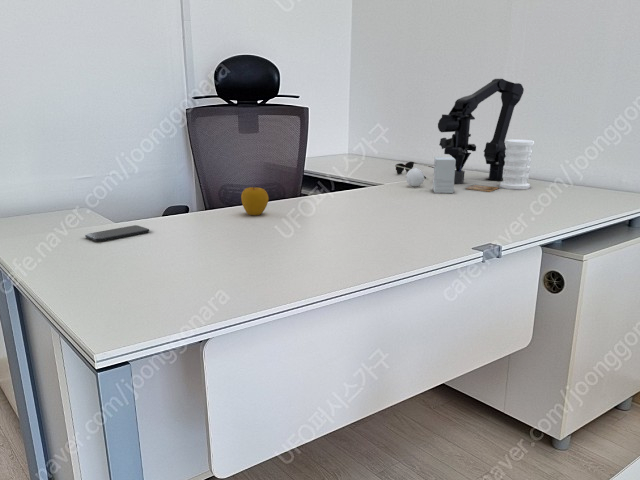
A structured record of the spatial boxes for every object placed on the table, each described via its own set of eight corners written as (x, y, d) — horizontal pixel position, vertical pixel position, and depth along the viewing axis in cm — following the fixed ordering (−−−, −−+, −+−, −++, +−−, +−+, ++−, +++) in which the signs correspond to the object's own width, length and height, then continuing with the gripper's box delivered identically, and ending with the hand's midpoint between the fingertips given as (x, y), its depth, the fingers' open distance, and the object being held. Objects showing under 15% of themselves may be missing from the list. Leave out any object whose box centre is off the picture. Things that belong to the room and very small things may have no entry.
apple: (271, 212, 193) (270, 184, 190) (264, 217, 185) (264, 189, 182) (246, 211, 194) (245, 184, 191) (238, 216, 187) (237, 188, 183)
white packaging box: (451, 189, 232) (454, 157, 227) (453, 193, 225) (456, 159, 220) (432, 189, 232) (434, 156, 228) (433, 193, 225) (436, 159, 221)
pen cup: (454, 181, 250) (455, 169, 248) (465, 182, 248) (466, 170, 246) (449, 183, 247) (450, 171, 245) (460, 184, 244) (461, 172, 242)
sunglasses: (412, 171, 275) (413, 161, 273) (441, 177, 265) (442, 166, 263) (394, 175, 266) (395, 163, 264) (423, 181, 256) (425, 169, 254)
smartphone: (136, 227, 173) (83, 237, 162) (136, 224, 172) (83, 234, 162) (151, 232, 167) (97, 242, 157) (150, 229, 167) (97, 239, 156)
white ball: (427, 187, 238) (428, 168, 235) (413, 188, 234) (414, 169, 231) (411, 183, 246) (412, 165, 243) (397, 185, 242) (398, 166, 239)
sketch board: (475, 185, 241) (475, 184, 241) (499, 188, 235) (499, 187, 235) (465, 189, 233) (465, 188, 233) (489, 191, 228) (489, 190, 228)
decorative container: (518, 183, 245) (524, 139, 239) (535, 188, 235) (541, 141, 228) (494, 185, 242) (498, 139, 236) (509, 189, 232) (515, 142, 225)
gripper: (453, 128, 251) (450, 166, 257) (433, 132, 237) (431, 171, 243) (478, 130, 245) (474, 168, 251) (459, 133, 231) (456, 173, 237)
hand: (458, 170), depth 245 cm, fingers closed
